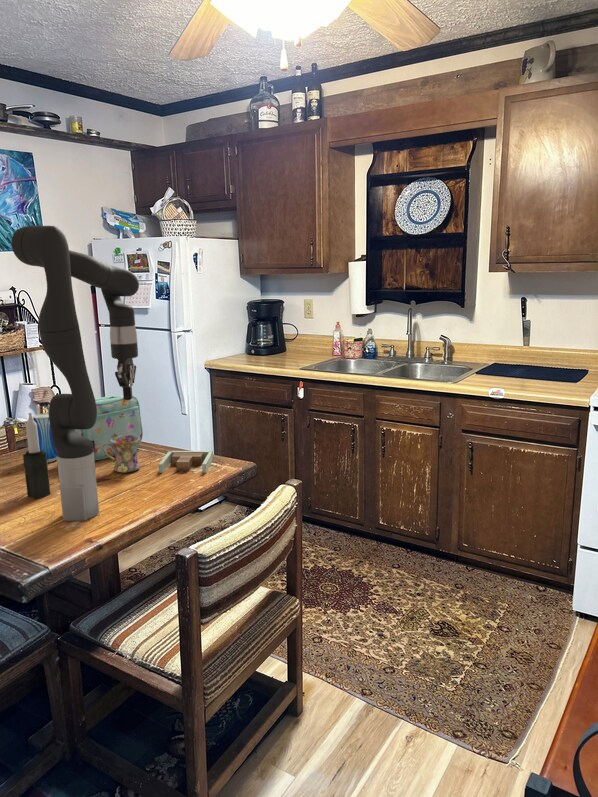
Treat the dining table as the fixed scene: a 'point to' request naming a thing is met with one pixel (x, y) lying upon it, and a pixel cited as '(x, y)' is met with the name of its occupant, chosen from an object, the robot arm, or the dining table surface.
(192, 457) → the t block
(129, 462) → the mug
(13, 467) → the dining table surface
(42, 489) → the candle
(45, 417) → the beer can
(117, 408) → the lunch box
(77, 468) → the robot arm
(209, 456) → the bay
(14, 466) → the dining table surface
